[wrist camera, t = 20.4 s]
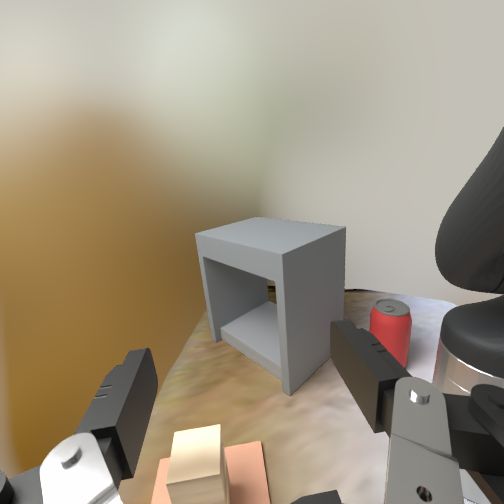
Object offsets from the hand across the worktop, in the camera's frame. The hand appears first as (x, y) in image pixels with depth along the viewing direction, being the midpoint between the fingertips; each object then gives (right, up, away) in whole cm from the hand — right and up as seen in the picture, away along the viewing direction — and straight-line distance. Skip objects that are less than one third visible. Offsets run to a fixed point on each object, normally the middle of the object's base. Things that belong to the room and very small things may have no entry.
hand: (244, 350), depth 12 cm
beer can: (+26, -17, +38) cm, 49 cm away
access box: (+6, -15, +47) cm, 50 cm away
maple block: (-4, -25, +18) cm, 32 cm away
